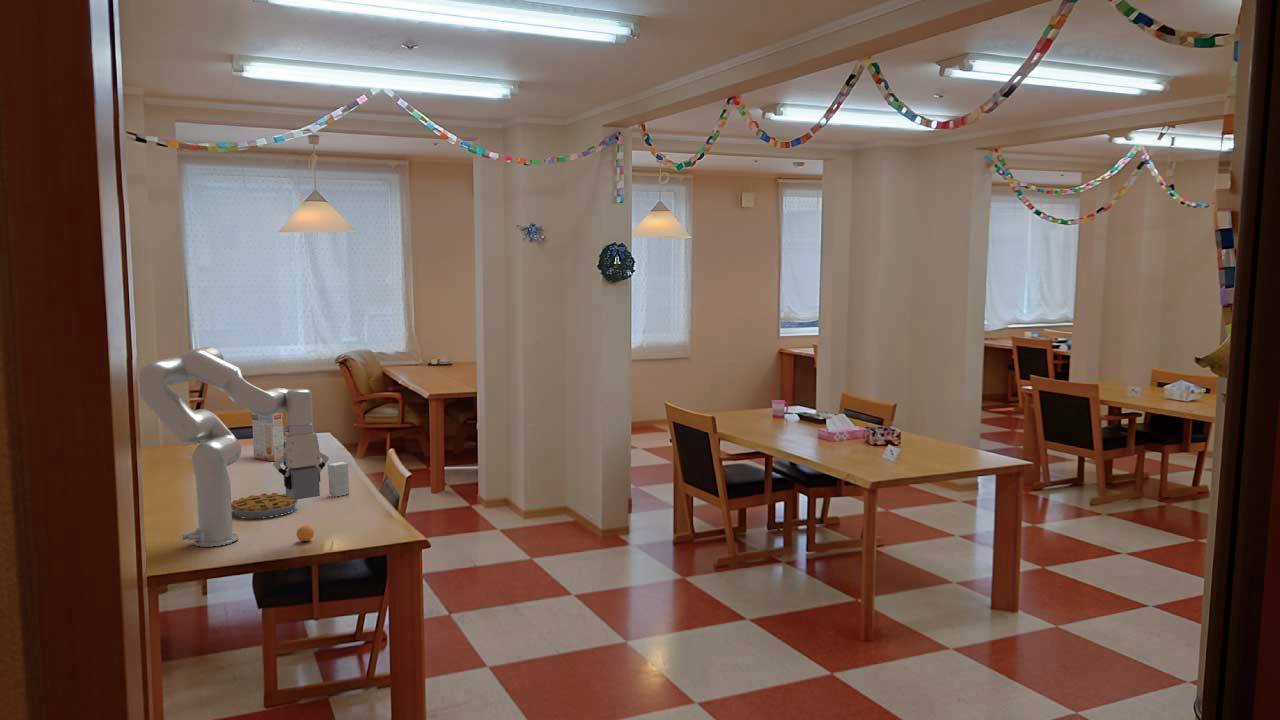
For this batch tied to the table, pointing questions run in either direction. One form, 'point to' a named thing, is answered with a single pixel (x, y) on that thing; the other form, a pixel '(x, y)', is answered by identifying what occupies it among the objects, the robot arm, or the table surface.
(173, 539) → the table surface
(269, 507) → the pie
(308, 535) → the ball
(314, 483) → the rounded grey cube
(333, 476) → the skincare box
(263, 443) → the cracker box
